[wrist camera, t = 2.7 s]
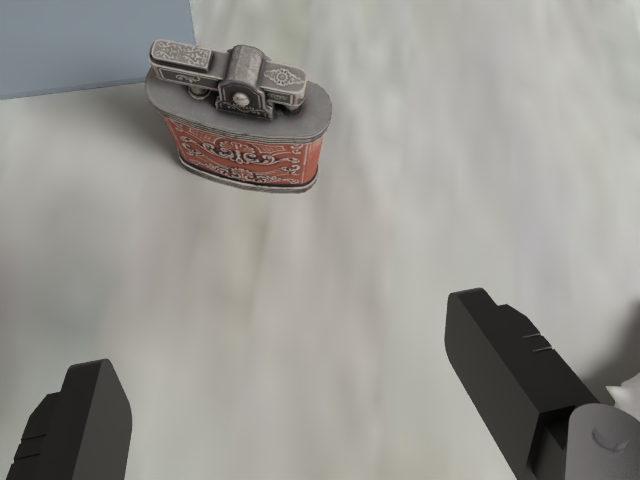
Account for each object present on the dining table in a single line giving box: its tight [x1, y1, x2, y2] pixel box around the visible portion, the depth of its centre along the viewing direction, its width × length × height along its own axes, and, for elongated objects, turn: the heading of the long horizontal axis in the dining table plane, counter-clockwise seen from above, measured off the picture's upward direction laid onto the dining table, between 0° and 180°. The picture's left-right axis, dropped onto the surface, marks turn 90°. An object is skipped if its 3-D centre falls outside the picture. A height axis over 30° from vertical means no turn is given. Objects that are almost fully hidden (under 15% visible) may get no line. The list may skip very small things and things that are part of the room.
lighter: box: [145, 39, 332, 194], centre depth 23 cm, size 8×3×10 cm, turn 80°
